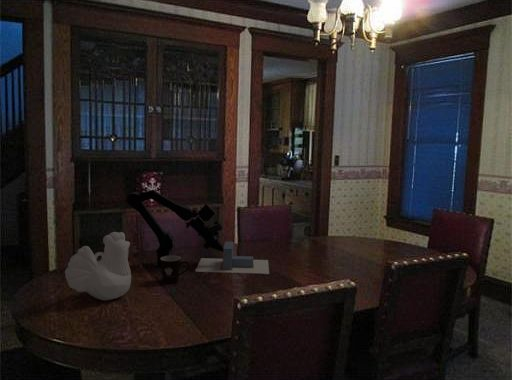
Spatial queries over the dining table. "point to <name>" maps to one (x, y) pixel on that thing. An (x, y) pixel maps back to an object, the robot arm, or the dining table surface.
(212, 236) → the robot arm
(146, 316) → the dining table surface
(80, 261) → the decorative rooster
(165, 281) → the coffee mug
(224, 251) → the t block
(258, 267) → the t mat
